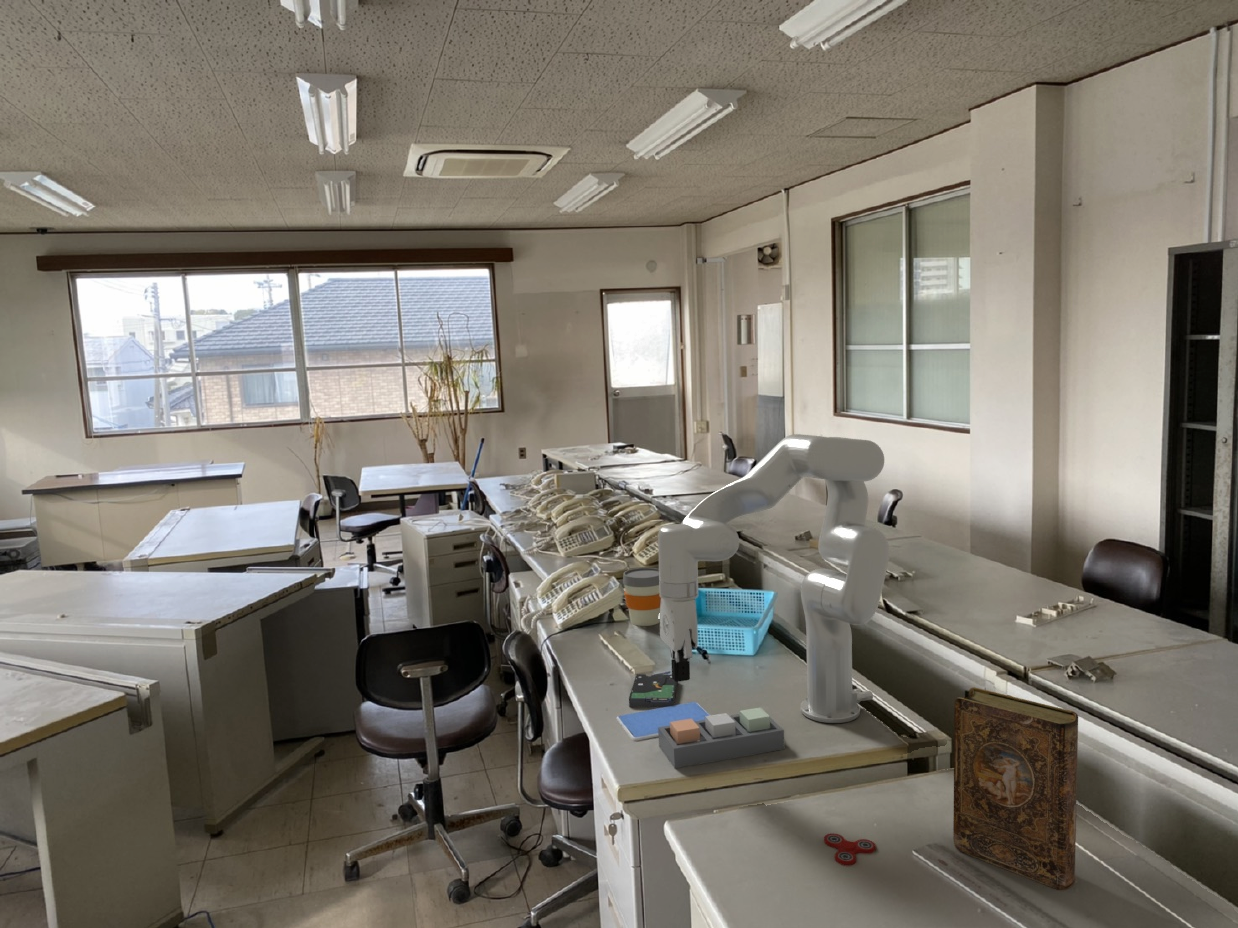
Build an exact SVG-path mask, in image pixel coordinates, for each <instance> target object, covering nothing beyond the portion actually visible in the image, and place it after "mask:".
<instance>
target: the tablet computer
mask: <svg viewBox="0 0 1238 928" xmlns="http://www.w3.org/2000/svg"><path fill="white" fill-rule="evenodd" d="M710 715H711V714H710V713H708V711H707V710H705V709H704V708H703V707H702V706H701V705H700V704H699V703H698V702H697V701H692V702H686V703H680V704H674V706H669V707H663V708H653V709H649V710H643V711H637V712H632V713H631V712H630V713H627V714H621V715H618V716H616V721H617V722H618V724H619V725H620V726H621V727H622V729H623V730H624V731H625V733H626V734H627V735H628V737H629V738H630V739H631V740H632V741H633V742H639V741H644V740H650V739H653V738H654V739H655V738H659V735H658V727H663V726H669V725H670V722H673V721H679V720H686V719H692V720H693V721H700V720H705V716H710Z"/></svg>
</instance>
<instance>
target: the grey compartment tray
mask: <svg viewBox="0 0 1238 928" xmlns="http://www.w3.org/2000/svg"><path fill="white" fill-rule="evenodd" d="M729 716H730V717H731V718H732V719H733V720H734V721H735V734H732V735H727V736H721V737H715V738H714V737H713V736H712V735H711V734H710V733H709V732H708V730H707V729H706V727H705V720H700V721H694V722H695V723H696V724H697V725H698V727H699V728H700V740H697V741H691V742H685V743H679V744H678V743H677V742H676V741H675V739H674V738H673V737H672V735H671V734H670V725H669V726H663V727H658V735H659V737H658V747H659V748H660V750H661V751H662V753H663V754H664V756H665V757H666V758H667V759H668V761H669V762H670V765H672V767H673V768H674V769H680V768H685V767H691V766H697V765H702V764H708V763H712V762H719V761H724V760H731V759H736V758H741V757H748V756H753V755H758V754H764V753H771V752H775V751H780V750H785V730H784V728H782V727H781V725H779V724H778V723H777V722H776V721H775V720H774V719H772V717H770V728H768V729H762V730H756V731H750V732H749V731H748V730H747V729H746V728H745V727H744V726H743V725H742V724H741V723H740V713H738V714H737V713H736V714H732V715H729Z"/></svg>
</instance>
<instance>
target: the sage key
mask: <svg viewBox="0 0 1238 928" xmlns="http://www.w3.org/2000/svg"><path fill="white" fill-rule="evenodd" d="M739 714H740V723H741V724H742V725H743V726H744V727H745V728H746V729H747V730H748V731H749V732H750V731H756V730H762V729H768V728H770V718H771V716H770V715H769V714H768V713H767V712H766V711H765V710H764V709H763V708H762V707H755V708H748V709H743V710H739Z"/></svg>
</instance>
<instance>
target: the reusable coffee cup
mask: <svg viewBox="0 0 1238 928" xmlns="http://www.w3.org/2000/svg"><path fill="white" fill-rule="evenodd" d="M622 584H623V586H624V593H623V594H624V599H625V603H626V608H627V609H628V614H629V619H630V620H629V621H630V623H631V625H634V626H638V627H639V626H640V627H648V626H655V625H657V624H660V619H658V614H659V613H660V605H661V597H660V589H659V568H658V567H657V568H656V567H637V568H635V567H634V568H631V569H628V570H625V571H624V572H623V577H622Z"/></svg>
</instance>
